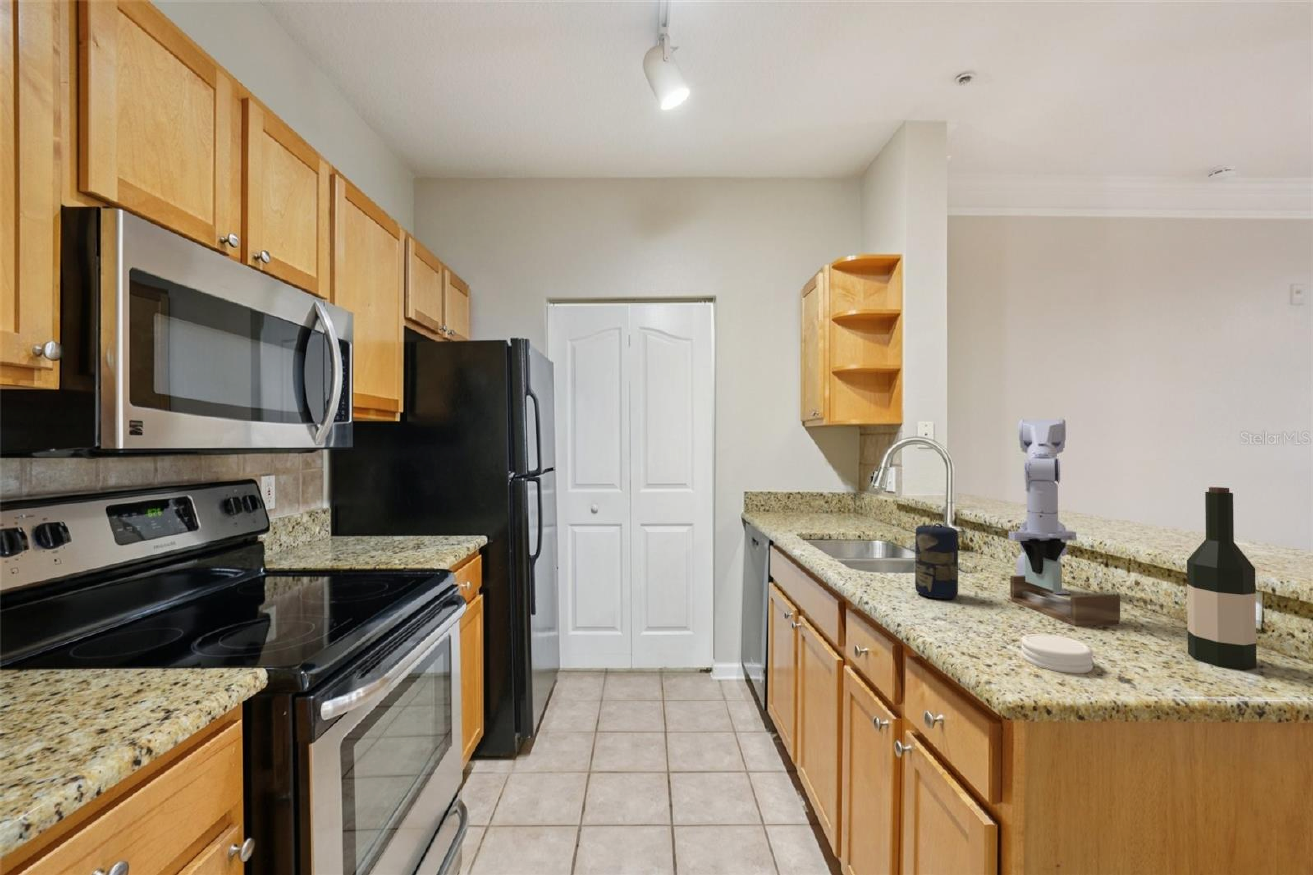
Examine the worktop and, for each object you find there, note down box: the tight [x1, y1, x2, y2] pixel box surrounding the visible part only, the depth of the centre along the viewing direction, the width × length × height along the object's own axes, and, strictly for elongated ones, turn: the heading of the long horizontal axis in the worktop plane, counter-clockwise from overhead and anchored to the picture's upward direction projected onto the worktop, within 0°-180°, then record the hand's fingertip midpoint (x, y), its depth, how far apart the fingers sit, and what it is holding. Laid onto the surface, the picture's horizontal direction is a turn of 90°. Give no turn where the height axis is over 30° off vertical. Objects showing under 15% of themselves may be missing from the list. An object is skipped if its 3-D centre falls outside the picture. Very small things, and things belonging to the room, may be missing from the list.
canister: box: [914, 522, 959, 599], centre depth 136 cm, size 10×10×18 cm
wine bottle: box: [1186, 486, 1258, 671], centre depth 95 cm, size 8×8×30 cm
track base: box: [1009, 575, 1121, 627], centre depth 123 cm, size 18×10×6 cm, turn 5°
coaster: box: [1020, 633, 1094, 674], centre depth 95 cm, size 10×10×4 cm
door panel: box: [1025, 555, 1063, 591], centre depth 122 cm, size 8×2×6 cm, turn 5°
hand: (1042, 572), depth 122 cm, fingers closed on door panel, 2 cm apart
